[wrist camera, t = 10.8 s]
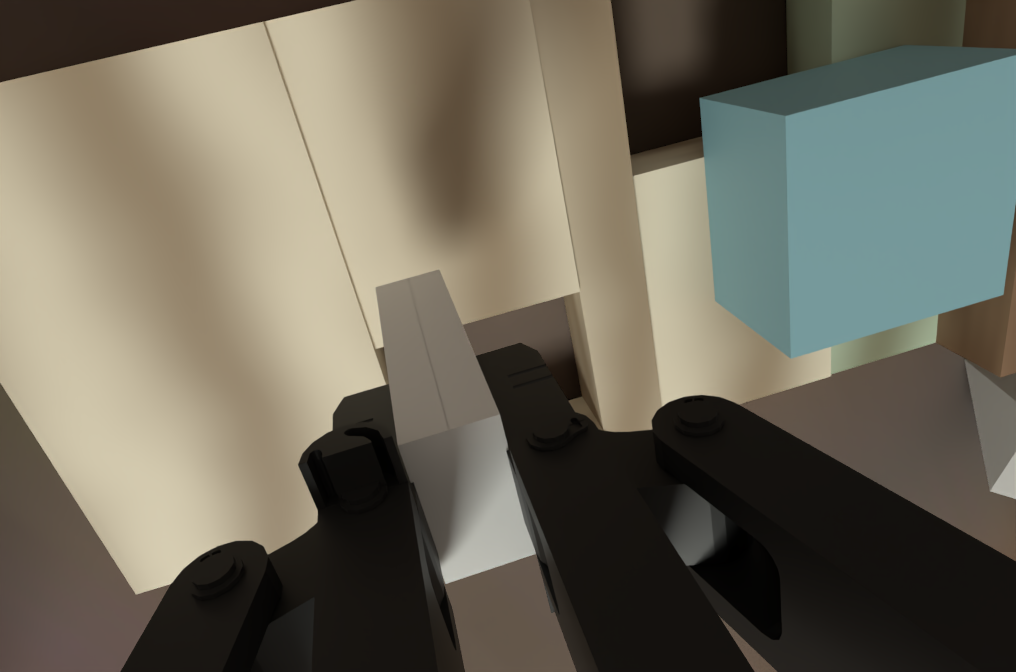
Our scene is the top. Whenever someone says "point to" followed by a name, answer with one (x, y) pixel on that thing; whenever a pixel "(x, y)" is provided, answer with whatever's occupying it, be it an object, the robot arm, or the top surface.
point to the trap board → (371, 242)
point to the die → (995, 425)
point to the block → (862, 192)
